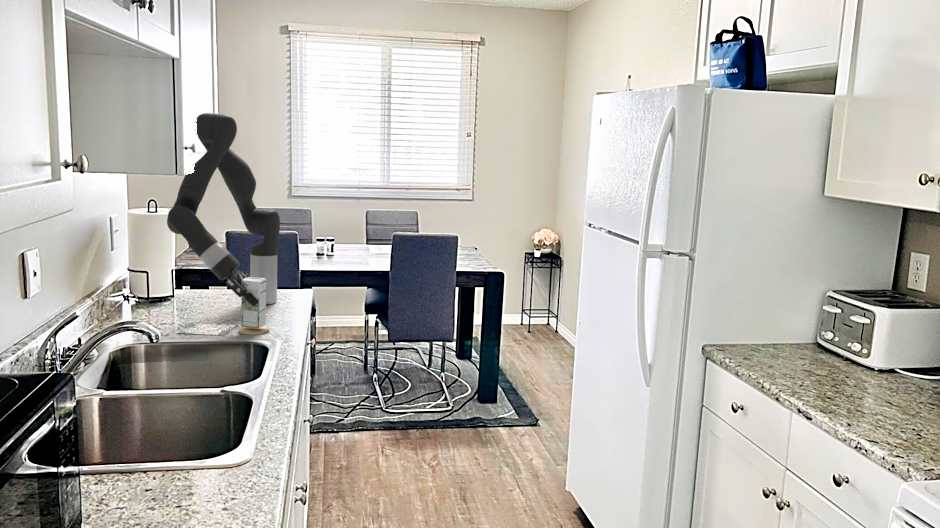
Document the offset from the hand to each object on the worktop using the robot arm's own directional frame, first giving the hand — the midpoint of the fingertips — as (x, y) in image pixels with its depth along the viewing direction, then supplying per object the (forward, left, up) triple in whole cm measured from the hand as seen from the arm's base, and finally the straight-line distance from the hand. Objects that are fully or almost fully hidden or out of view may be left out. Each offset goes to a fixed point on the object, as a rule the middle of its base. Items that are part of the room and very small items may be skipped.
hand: (259, 301), depth 220 cm
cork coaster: (0, -2, -9) cm, 9 cm away
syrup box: (0, -2, -8) cm, 8 cm away
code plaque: (0, -16, -9) cm, 18 cm away
